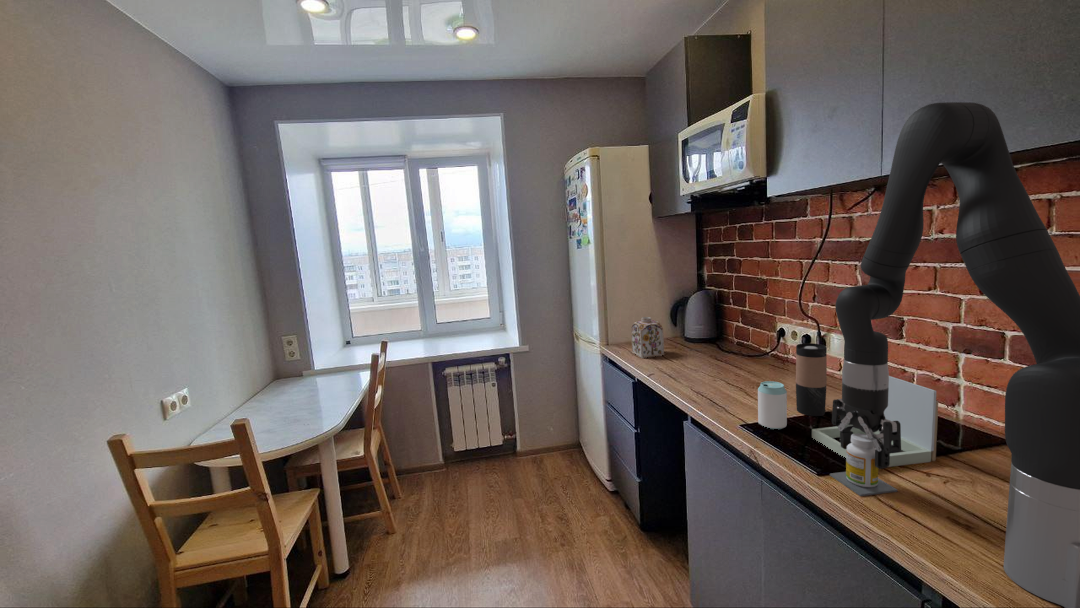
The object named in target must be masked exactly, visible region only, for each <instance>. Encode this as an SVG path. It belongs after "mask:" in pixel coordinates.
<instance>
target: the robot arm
mask: <svg viewBox="0 0 1080 608" xmlns="http://www.w3.org/2000/svg"><path fill="white" fill-rule="evenodd" d="M1007 144H1008V143H1007V142H1006V139H1005V135H1004V132H1003V129H1002V126H1001V124H1000V120H999V118H998V117H997V115H996V113H995V112H994V111H993V110H992V109H991V108H990V107H988V106H986V105H984V104H982V103H979V102H978V103H977V102H967V101H966V102H965V101H963V102H961V101H959V102H956V101H955V102H953V101H952V102H951V101H950V102H934V103H929V104H927V105H924V106H922V107H920V108H919V109H917V110H915V111H914V112H913V113H912V114H911V115H910V116H909V117H908V118H907V119H906V121H905V122H904V124H903V125H902V128H901V130H900V133H899V135H898V138H897V141H896V146H895V148H894V154H893V156H892V157H893V158H892V163H891V168H890V172H889V175H888V176H889V177H888V181H887V184H886V189H885V193H884V199H883V202H882V207H881V211H880V212H879V217H878V220H877V223H876V225H875V227H874V231H873V233H872V235H871V238H870V240H869V242H868V245H867V247H866V250H865V252H864V254H863V257H862V259H861V262H860V269H861V271H862V272H863V273H864V274H865V275H867V276H869V282H868V283H867V284H863V285H854V286H849V287H845V288H844V289H842V290H841V291H840V293H839V294H838V296H837V297H836V300H835V306H834V307H835V308H834V309H835V313H836V318H837V321H838V324H839V327H840V331H841V334H842V338H843V341H844V343H843V344H844V348H843V363H842V372H841V373H842V374H841V377H842V378H841V398H838V399H833V400H832V410H831V423H832V426H835V427H836V426H837V427H838V429H839V431H840V437H839V442H840V443H841V447H842V448H844V449H847V445H848V444H850V443H851V435H852V434H853V432H852V431H851V430H852V429H853V428H857V429H860V430H861V431H862V432H864V433H866V435H867V437H868V438H869V439H870V440H872V442H873V444H874V448H876V450H875V467H877V468H878V470H880V469H881V470H883V469H887V468H889V467H888V466H889V465H890V453H899V452H902V450H901V425H900V422H899V421H890V420H887V419H886V418H885V416H884V411H885V409H886V408H887V407H888V391H889V376H890V374H889V373H890V372H889V360H888V359H889V341H888V337H887V336H886V335H885V334H884V333H882V332H880V331H876V330H875V331H874V328H873V325H872V321H874V320H881V319H886V318H888V317H890V316H892V315H893V314H894V313H896V311H897V310H898V309H899V307H900V305H901V304H902V300H903V296H904V289H905V286H906V285H905V284H906V274H907V270H908V269H909V266H910V265H911V262H912V261H913V258H914V256H915V255H916V252H917V251H918V249H919V246H920V243H921V240H922V238H923V233H924V223H925V222H924V202H925V201H924V200H925V196H926V192H927V188H928V186H929V183H930V181H931V180H932V177H933V175H934V174H935V172H936V171H937V169H938V168H939V166H940V164H941V165H943V167H944V168H945V169H946V170H947V171H946V172H948V174H949V176H950V178H951V180H952V183H953V184H954V186H955V188H956V192H957V195H958V199H959V201H958V202H959V207H958V214H957V221H956V231H955V240H956V241H955V242H956V246H957V249H958V252H959V254H960V256H961V260H962V261H963V264H964V265H965V267H966V269H967V273H968V274H969V276H970V278H971V279H972V282H973V283H974V285H976V287H977V288H978V289H979V291H981V292H982V294H983V295H984V296H985V297H987V299H988V300H990V301H991V302H992V303H993V304H994V305H995V306H996V307H997V308H998V309H1000V310H1001V312H1003V313H1004V314H1005V315H1006V316H1007V317H1008V318H1010V319H1011V320H1012V321H1013V322H1014V324H1015V325H1016V326H1017V327H1018V328H1019V330H1020V331H1021V332H1022V334H1023V335H1024V337H1025V340H1026V342H1027V344H1028V345H1029V348H1030V350H1031V352H1032V355H1033V357H1034V359H1035V364H1029V365H1027V366H1024V367H1022V368H1020V369H1018V370H1016V371H1015V372H1014V373H1013V374H1012V375H1011V377H1010V378H1009V381H1008V383H1007V386H1006V389H1005V394H1004V395H1005V396H1004V438H1005V442H1006V445H1007V447H1008V450H1009V451H1010V453H1011V455H1010V456H1011V458H1010V459H1011V460H1010V462H1011V463H1010V475H1009V485H1008V486H1009V490H1008V498H1007V499H1008V500H1007V501H1008V502H1007V513H1006V526H1005V527H1006V530H1005V541H1004V554H1003V555H1004V557H1003V569H1004V570H1003V571H1004V572H1005V574H1006V575H1007V577H1008V578H1009V579H1010V580H1011V581H1013V582H1014V583H1015V584H1016V585H1017V586H1019V587H1021V588H1023V589H1024V590H1025V591H1026V592H1029V593H1031V594H1033V595H1034V596H1037V597H1039V598H1041V599H1044V600H1046V601H1048V602H1051V603H1054V604H1056V605H1059V606H1062V607H1064V608H1080V293H1079V292H1078V291H1079V290H1077V287H1076V285H1075V284H1074V281H1073V280H1072V278H1071V275H1070V273H1069V272H1068V270H1067V269H1066V266H1065V264H1064V262H1063V259H1062V257H1061V254H1060V252H1059V251H1058V248H1057V246H1056V244H1055V242H1054V241H1053V238H1052V236H1051V235H1050V233H1049V231H1048V230H1047V227H1046V225H1045V224H1044V222H1043V221H1042V219H1041V217H1040V215H1039V214H1038V212H1037V210H1036V208H1035V206H1034V204H1033V202H1032V200H1031V198H1030V195H1029V194H1028V192H1027V190H1026V188H1025V186H1024V184H1023V182H1022V181H1021V179H1020V177H1019V175H1018V173H1017V171H1016V168H1015V165H1014V164H1013V160H1012V157H1011V154H1010V152H1009V151H1010V150H1009V147H1008V145H1007ZM878 430H879V432H880V434H874V433H873V432H877V431H878ZM892 441H893V445H891V442H892ZM881 442H882V443H881Z"/></svg>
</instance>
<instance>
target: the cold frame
mask: <svg viewBox="0 0 1080 608" xmlns="http://www.w3.org/2000/svg"><path fill="white" fill-rule="evenodd" d="M938 413H939V401H938V400H937V390H934V389H931V388H928V387H925V386H923V385H919V384H916V383H913V382H910V381H907V380H903V379H900V378H897V377H894V376H891V375H889V391H888V407H887V408H886V409H885V411H884V416H885V418H886V419H887V420H890V421H899V422H900V425H901V451H898V452H890V465H889V466H888V467H887V468H890V467H898V466H907V465H914V464H915V465H917V464H923V463H924V464H925V463H931V462H935V461H936V458H937V440H938V439H937V437H938V419H939V418H938V416H939V414H938ZM851 431H852V432H853V434H866V433H864V432H862V431H861V430H860V429H857V428H853V429H852V430H851ZM873 433H874V434H880V432H879V430H878V431H877V432H873ZM811 438H813V439H812V440H814V439H815V440H816V442H817V441H818V442H817V443H819V442H820V443H822V444H823V445H822V444H821V445H822V446H824V445H825V446H826V447H825V446H824V447H825V448H827V447H828V448H827V449H829V450H830V449H831V451H832V450H833V451H832V452H834V453H835V452H836V454H837V453H838V454H837V455H839V456H840V455H841V456H840V457H842V456H843V457H842V458H844V457H845V458H846V450H847V449H844V448H842V447H841V443H840V441H838V440H836V439H835V438H840V431H839V429H838V427H837V426H836V425H835V426H828V427H819V428H812V429H811ZM815 440H814V441H815ZM820 443H819V444H820ZM891 445H893V441H892V442H891ZM845 458H844V459H845Z"/></svg>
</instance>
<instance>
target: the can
mask: <svg viewBox="0 0 1080 608" xmlns="http://www.w3.org/2000/svg"><path fill="white" fill-rule="evenodd" d="M787 399H788V391H787V389H786V388H785V384H783V383H782V382H779V381H770V380H766V381H762V382H760V385H759V387H758V388H757V422H758V425H760V426H762V427H763V426H764V427H763V428H765V427H767V428H766V429H768V428H770V429H769V430H774V429H778V430H782V429H784V428H786V427H787V424H788V418H787V417H788V413H787V412H788V410H787V408H788V407H787V406H788V400H787Z"/></svg>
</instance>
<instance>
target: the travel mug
mask: <svg viewBox="0 0 1080 608" xmlns="http://www.w3.org/2000/svg"><path fill="white" fill-rule="evenodd" d="M795 346H796V347H795V397H796V398H795V399H796V400H795V403H796V411H797V412H798V413H800V414H801V415H805V416H808V417H809V416H810V417H820V416H824V415H825V414H826V405H827V403H826V400H827V382H828V381H827V379H828V378H827V376H828V375H827V366H828V365H827V356H828V355H827V352H828V351H827V350H828V349H827V346H826V345H824V344H820V343H810V342H808V343H807V342H806V343H805V342H804V343H798V344H796V345H795Z"/></svg>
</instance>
